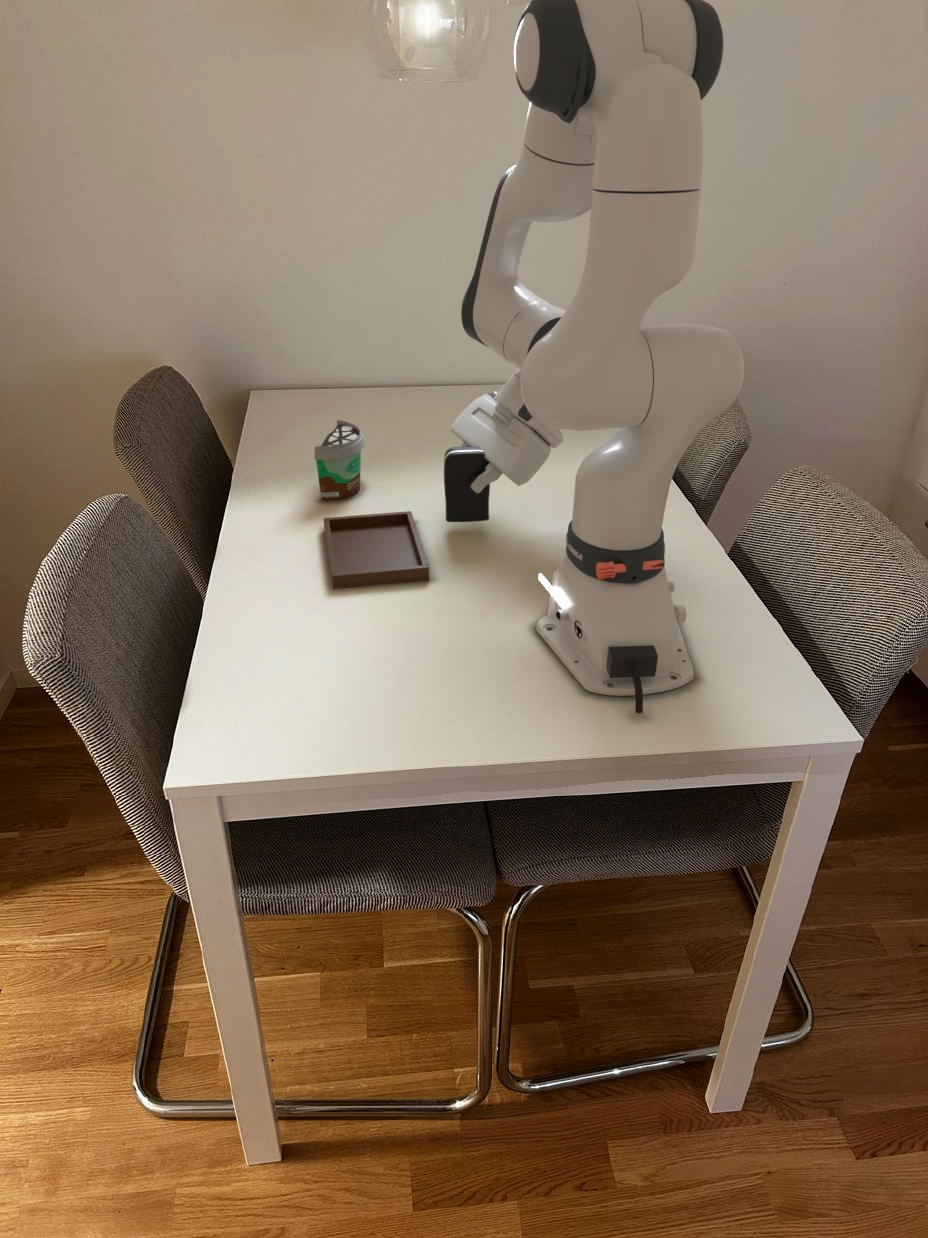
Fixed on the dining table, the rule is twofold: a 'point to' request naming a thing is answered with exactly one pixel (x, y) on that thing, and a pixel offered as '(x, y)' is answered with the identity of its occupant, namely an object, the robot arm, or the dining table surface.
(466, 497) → the battery charger
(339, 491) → the food container
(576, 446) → the dining table surface
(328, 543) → the tray
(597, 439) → the dining table surface
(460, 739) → the dining table surface
